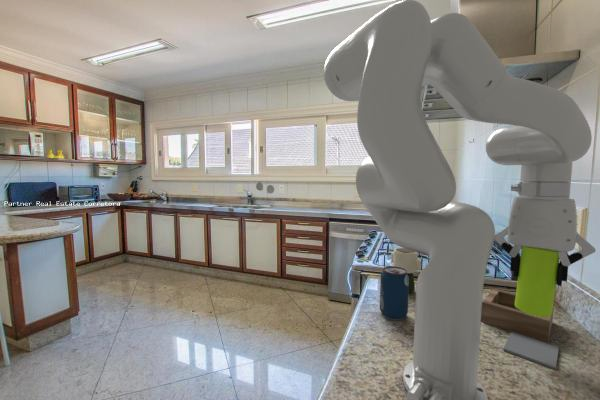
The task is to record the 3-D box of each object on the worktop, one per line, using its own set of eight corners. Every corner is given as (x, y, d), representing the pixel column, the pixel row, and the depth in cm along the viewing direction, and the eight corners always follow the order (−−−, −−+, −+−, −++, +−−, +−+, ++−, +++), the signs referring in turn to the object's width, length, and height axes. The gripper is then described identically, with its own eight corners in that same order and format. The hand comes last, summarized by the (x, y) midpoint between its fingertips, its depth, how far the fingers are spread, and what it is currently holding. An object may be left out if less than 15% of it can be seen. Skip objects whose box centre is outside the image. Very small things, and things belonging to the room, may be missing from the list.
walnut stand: (548, 343, 60) (549, 320, 60) (480, 321, 69) (482, 302, 68) (552, 322, 69) (554, 302, 68) (492, 305, 78) (493, 288, 77)
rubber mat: (555, 369, 52) (555, 367, 51) (503, 350, 57) (503, 348, 57) (558, 349, 58) (558, 346, 58) (511, 333, 64) (511, 331, 63)
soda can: (413, 316, 71) (415, 271, 70) (396, 324, 67) (398, 276, 66) (390, 306, 77) (392, 263, 76) (373, 313, 73) (375, 268, 72)
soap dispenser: (565, 319, 53) (580, 217, 51) (524, 314, 55) (537, 214, 53) (545, 305, 59) (558, 213, 57) (508, 301, 60) (520, 210, 58)
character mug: (426, 294, 84) (428, 253, 83) (411, 299, 81) (413, 256, 80) (397, 282, 94) (399, 245, 93) (382, 287, 90) (384, 247, 89)
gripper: (487, 190, 58) (482, 273, 60) (610, 193, 46) (600, 298, 48) (495, 189, 64) (490, 265, 65) (607, 192, 51) (598, 286, 53)
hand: (537, 278), depth 56 cm, fingers closed on soap dispenser, 6 cm apart
